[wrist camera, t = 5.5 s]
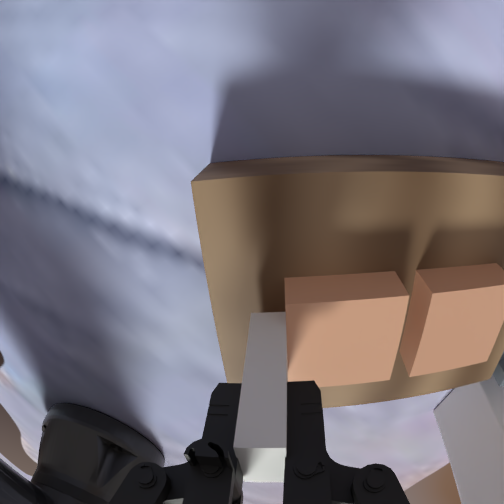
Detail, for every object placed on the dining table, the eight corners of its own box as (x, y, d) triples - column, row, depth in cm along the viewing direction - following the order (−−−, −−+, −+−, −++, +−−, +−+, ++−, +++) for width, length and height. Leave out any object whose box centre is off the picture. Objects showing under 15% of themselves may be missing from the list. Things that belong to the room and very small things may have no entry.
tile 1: (399, 350, 16) (409, 377, 14) (416, 269, 13) (432, 293, 12) (472, 338, 15) (486, 361, 13) (496, 262, 13) (516, 282, 11)
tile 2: (287, 360, 16) (288, 388, 14) (284, 277, 14) (285, 304, 12) (380, 352, 16) (389, 379, 14) (394, 270, 13) (409, 295, 12)
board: (239, 366, 22) (233, 410, 18) (210, 163, 16) (190, 181, 12) (469, 343, 20) (490, 378, 17) (511, 163, 14) (552, 181, 11)
